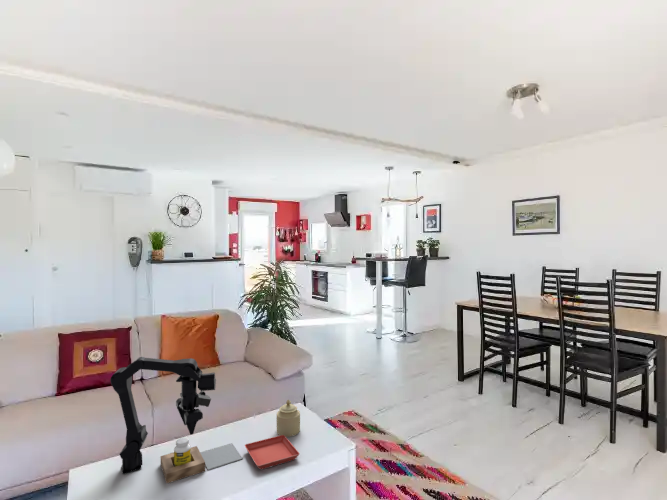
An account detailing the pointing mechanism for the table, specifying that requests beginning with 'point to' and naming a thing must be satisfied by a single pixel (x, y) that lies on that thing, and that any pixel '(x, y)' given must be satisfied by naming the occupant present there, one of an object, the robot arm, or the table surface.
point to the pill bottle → (182, 452)
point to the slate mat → (220, 456)
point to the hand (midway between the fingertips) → (188, 429)
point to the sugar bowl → (288, 420)
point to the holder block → (182, 466)
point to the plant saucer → (272, 451)
